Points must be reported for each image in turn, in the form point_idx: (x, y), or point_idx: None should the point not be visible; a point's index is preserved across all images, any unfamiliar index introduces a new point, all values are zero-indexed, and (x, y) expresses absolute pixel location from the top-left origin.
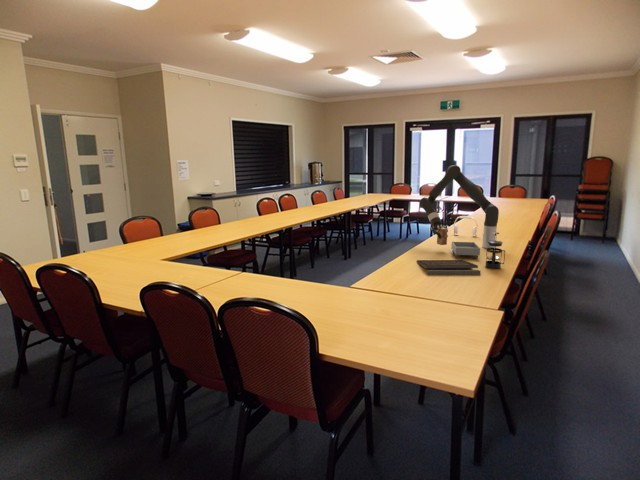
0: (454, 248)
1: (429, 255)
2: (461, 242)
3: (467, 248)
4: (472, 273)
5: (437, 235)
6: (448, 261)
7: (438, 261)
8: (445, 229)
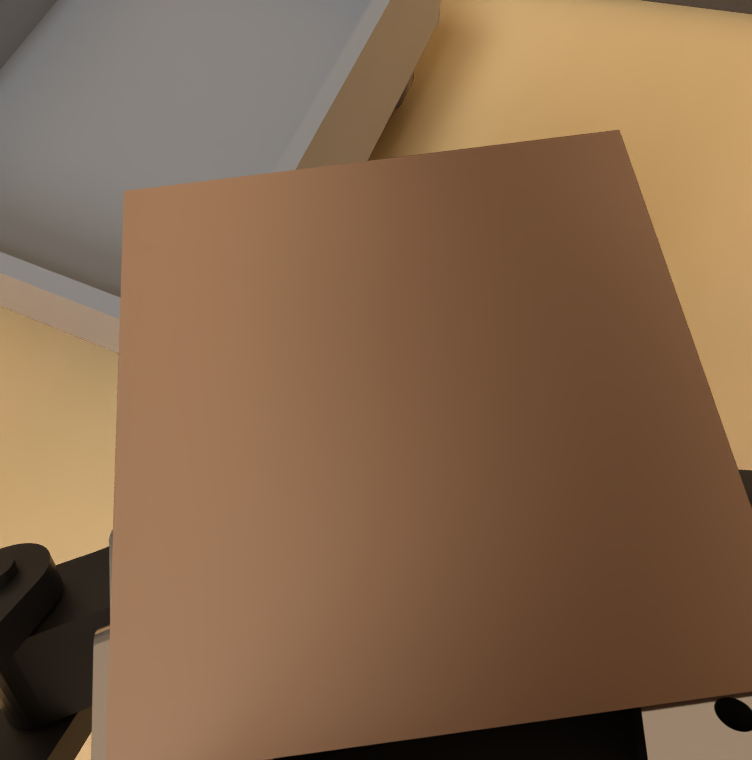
0: (387, 59)
1: (747, 302)
2: (10, 260)
3: None
4: None
5: None
6: None
7: (724, 3)
8: (302, 194)
